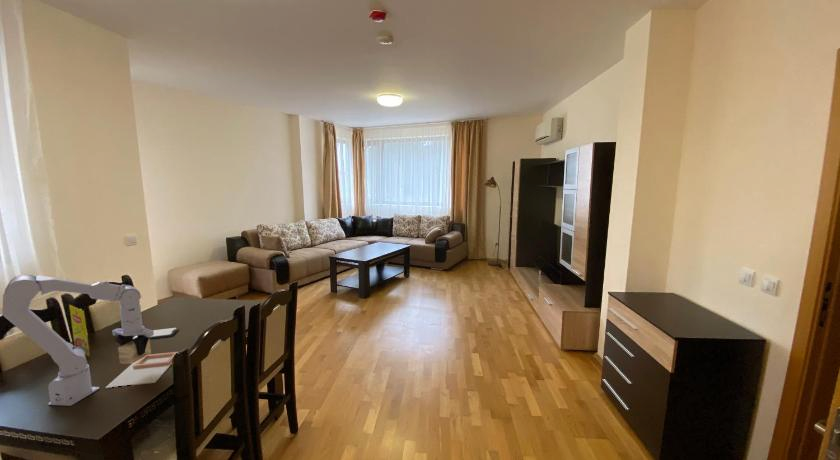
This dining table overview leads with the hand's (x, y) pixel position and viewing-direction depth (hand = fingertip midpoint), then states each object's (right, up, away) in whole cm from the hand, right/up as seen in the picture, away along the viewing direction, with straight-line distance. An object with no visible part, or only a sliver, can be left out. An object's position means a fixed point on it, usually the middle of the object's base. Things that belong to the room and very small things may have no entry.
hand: (135, 353), depth 123 cm
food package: (-38, -6, +18) cm, 42 cm away
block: (0, -2, 0) cm, 2 cm away
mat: (0, -8, +5) cm, 10 cm away
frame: (-1, -7, +11) cm, 13 cm away
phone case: (-20, -5, +35) cm, 40 cm away
